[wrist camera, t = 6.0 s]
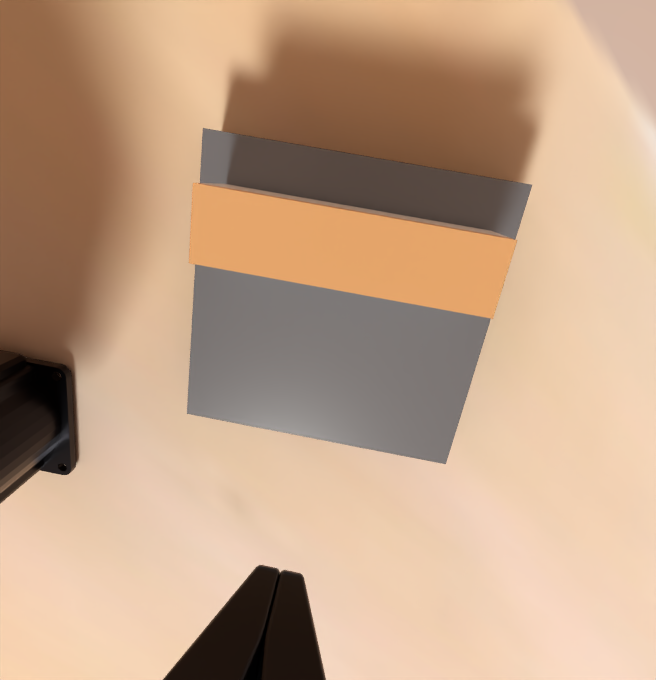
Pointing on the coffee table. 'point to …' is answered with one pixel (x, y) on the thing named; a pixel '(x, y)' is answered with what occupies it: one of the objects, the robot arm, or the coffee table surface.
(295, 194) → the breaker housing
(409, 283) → the knob
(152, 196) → the coffee table surface
